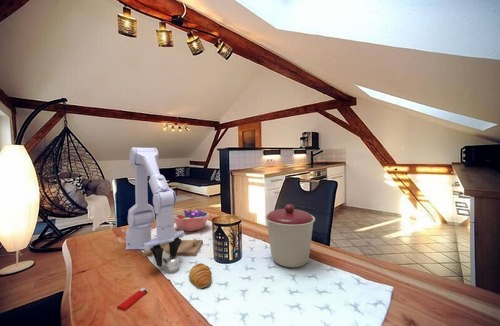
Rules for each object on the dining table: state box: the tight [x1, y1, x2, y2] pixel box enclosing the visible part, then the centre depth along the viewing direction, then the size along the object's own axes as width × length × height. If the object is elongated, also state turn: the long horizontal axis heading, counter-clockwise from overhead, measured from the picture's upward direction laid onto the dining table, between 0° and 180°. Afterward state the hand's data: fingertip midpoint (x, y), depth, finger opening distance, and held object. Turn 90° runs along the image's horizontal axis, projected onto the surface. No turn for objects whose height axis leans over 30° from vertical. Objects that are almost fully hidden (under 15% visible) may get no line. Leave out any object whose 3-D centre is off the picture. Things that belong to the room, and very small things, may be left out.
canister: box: [264, 203, 316, 268], centre depth 77 cm, size 18×18×21 cm
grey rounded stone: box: [152, 251, 180, 275], centre depth 74 cm, size 12×4×4 cm, turn 54°
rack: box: [142, 238, 204, 257], centre depth 88 cm, size 21×12×4 cm, turn 89°
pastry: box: [188, 262, 213, 290], centre depth 66 cm, size 9×7×4 cm
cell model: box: [173, 208, 210, 232], centre depth 112 cm, size 17×20×11 cm
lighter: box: [116, 287, 148, 312], centre depth 57 cm, size 3×1×8 cm
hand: (166, 262), depth 74 cm, fingers open, 5 cm apart
